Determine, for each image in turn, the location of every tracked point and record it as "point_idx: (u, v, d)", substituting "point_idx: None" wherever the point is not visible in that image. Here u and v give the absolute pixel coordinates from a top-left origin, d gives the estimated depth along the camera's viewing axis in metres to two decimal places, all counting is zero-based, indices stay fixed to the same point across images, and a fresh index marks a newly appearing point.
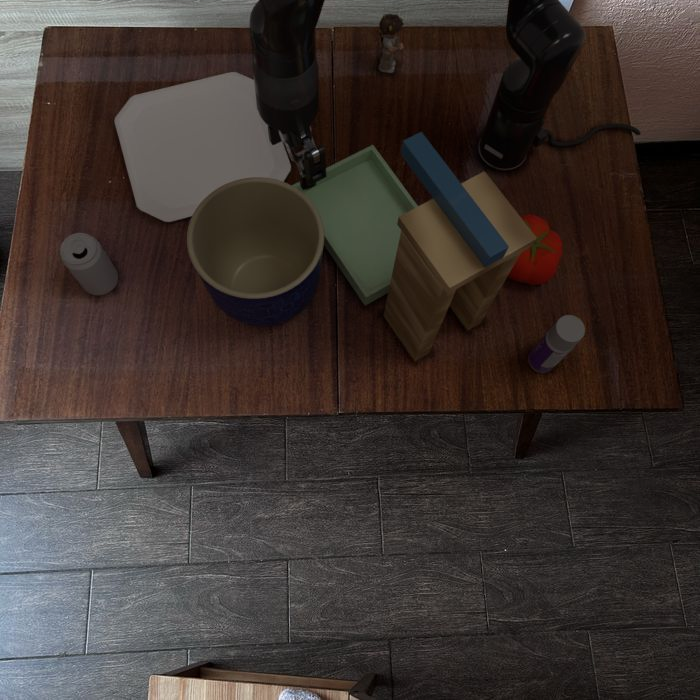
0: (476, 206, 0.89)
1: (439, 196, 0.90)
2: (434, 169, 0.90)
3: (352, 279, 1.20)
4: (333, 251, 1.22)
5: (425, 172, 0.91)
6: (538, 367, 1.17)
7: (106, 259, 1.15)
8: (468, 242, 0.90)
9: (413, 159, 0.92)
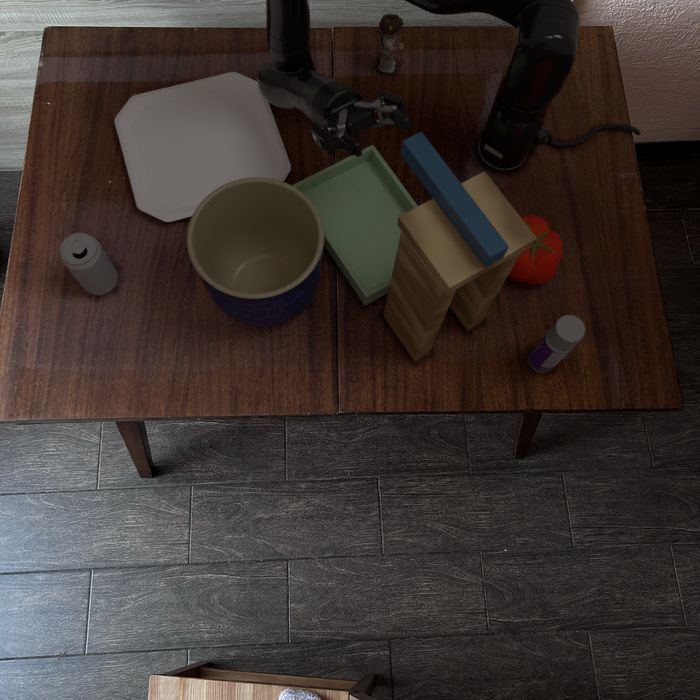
0: (476, 206, 0.89)
1: (439, 196, 0.90)
2: (434, 169, 0.90)
3: (352, 279, 1.20)
4: (333, 251, 1.22)
5: (425, 172, 0.91)
6: (538, 367, 1.17)
7: (106, 259, 1.15)
8: (468, 242, 0.90)
9: (413, 159, 0.92)
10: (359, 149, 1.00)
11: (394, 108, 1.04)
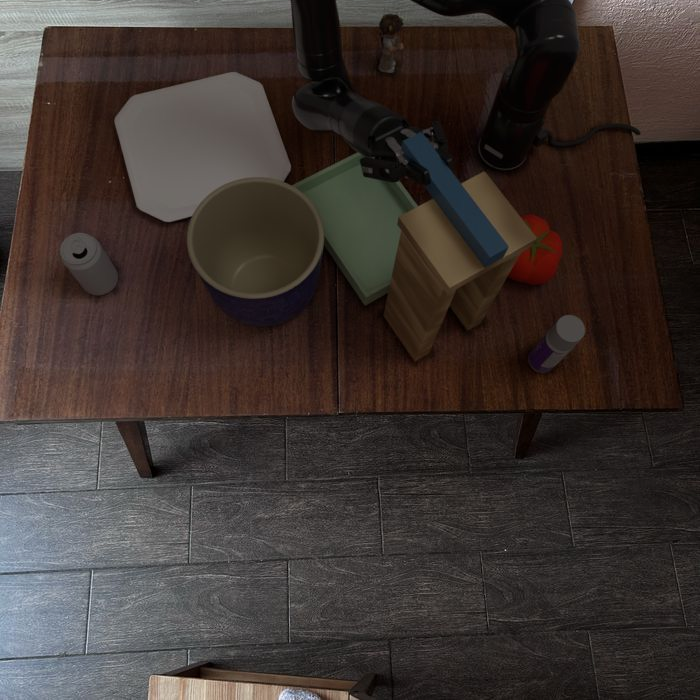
0: (476, 206, 0.89)
1: (439, 196, 0.90)
2: (434, 169, 0.90)
3: (352, 279, 1.20)
4: (333, 251, 1.22)
5: None
6: (538, 367, 1.17)
7: (106, 259, 1.15)
8: (468, 242, 0.90)
9: (413, 159, 0.92)
10: (428, 177, 0.90)
11: (435, 147, 0.93)
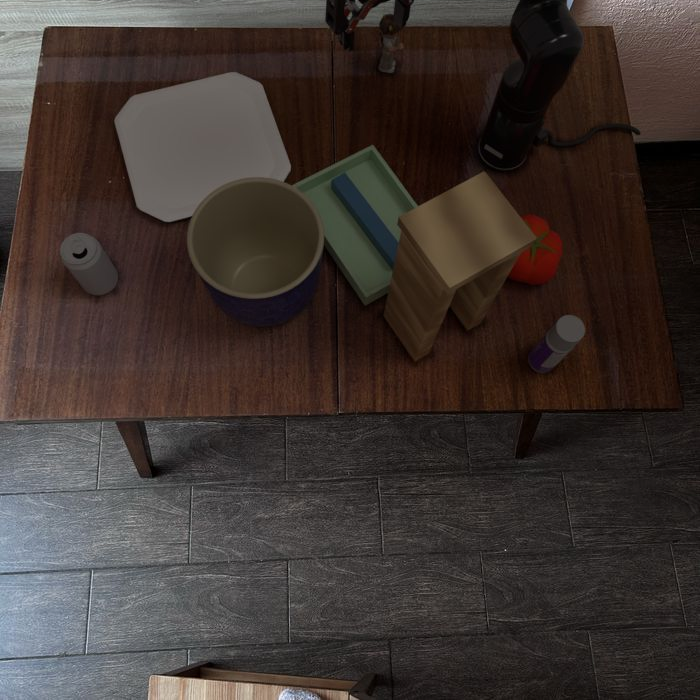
0: (384, 226, 1.23)
1: (359, 220, 1.25)
2: (354, 200, 1.25)
3: (352, 279, 1.20)
4: (333, 251, 1.22)
5: (347, 202, 1.25)
6: (538, 367, 1.17)
7: (106, 259, 1.15)
8: (380, 252, 1.24)
9: (339, 193, 1.26)
10: None
11: (409, 4, 0.93)
